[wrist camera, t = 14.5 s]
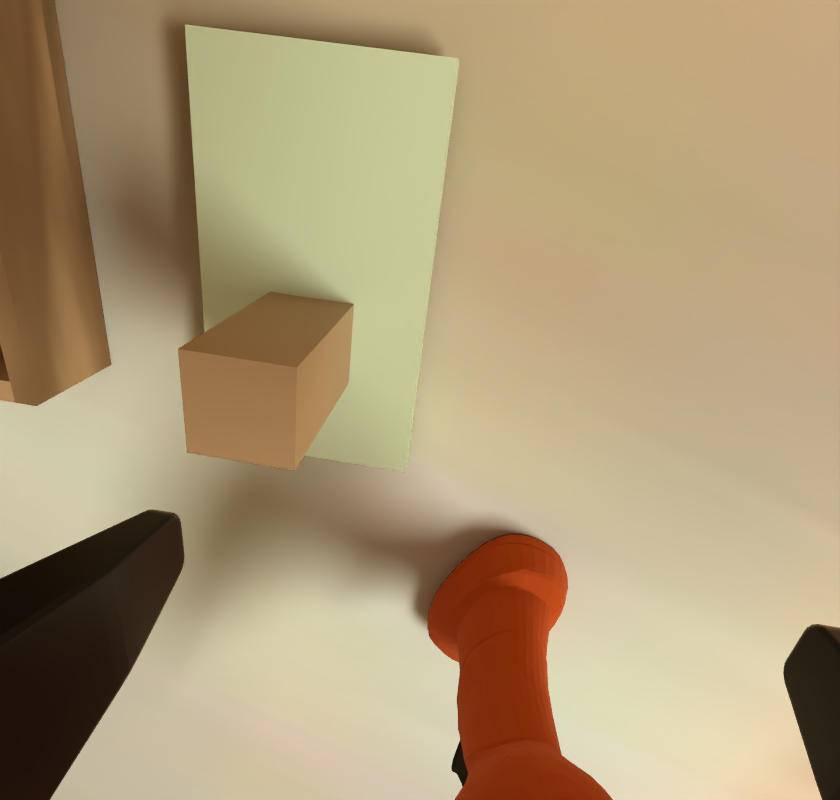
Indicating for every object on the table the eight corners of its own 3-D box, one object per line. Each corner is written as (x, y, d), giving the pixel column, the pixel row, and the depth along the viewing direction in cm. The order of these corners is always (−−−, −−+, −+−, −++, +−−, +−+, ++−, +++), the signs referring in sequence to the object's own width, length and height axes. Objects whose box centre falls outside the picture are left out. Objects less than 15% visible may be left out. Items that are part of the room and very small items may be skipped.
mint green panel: (228, 421, 23) (116, 537, 16) (211, 35, 16) (15, -50, 10) (410, 451, 22) (375, 583, 15) (460, 66, 16) (440, 1, 9)
